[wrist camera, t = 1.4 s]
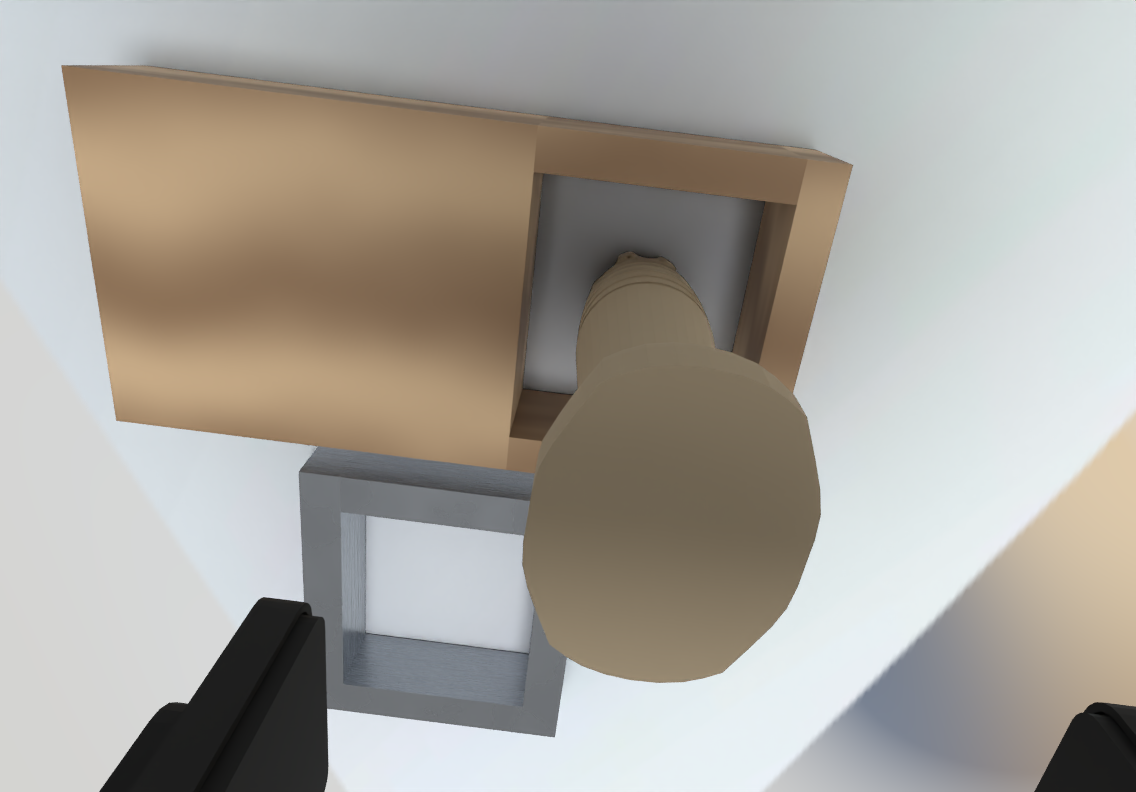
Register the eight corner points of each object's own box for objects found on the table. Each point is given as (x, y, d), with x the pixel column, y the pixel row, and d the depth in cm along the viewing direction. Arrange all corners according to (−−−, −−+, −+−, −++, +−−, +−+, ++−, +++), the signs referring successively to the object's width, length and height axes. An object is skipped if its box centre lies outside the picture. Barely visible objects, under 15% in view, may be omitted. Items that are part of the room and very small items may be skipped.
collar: (328, 433, 29) (298, 471, 26) (590, 467, 29) (588, 508, 26) (333, 654, 34) (308, 706, 31) (559, 683, 34) (554, 737, 31)
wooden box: (145, 65, 24) (61, 65, 20) (816, 149, 24) (852, 165, 20) (179, 375, 29) (116, 420, 25) (744, 446, 28) (763, 502, 25)
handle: (556, 364, 28) (503, 659, 14) (586, 190, 25) (556, 341, 11) (683, 386, 28) (756, 700, 14) (726, 214, 25) (867, 395, 11)
